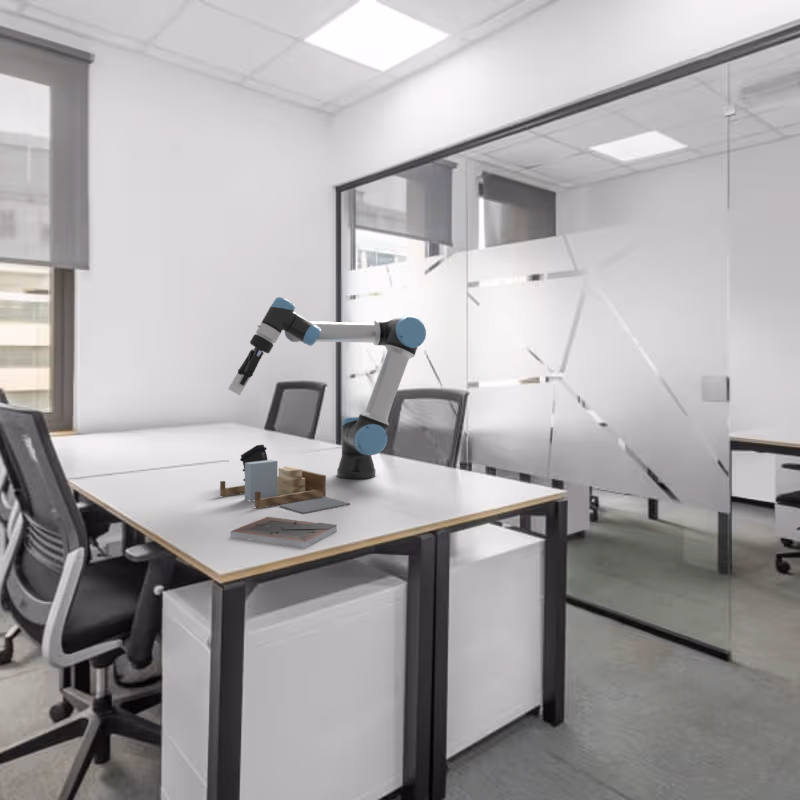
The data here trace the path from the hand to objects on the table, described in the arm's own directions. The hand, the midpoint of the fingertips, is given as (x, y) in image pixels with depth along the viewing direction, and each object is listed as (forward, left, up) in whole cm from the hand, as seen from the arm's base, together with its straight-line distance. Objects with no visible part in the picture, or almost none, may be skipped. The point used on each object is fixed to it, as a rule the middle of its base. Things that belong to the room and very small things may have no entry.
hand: (233, 392), depth 212 cm
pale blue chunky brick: (+1, +18, -34) cm, 38 cm away
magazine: (-8, +1, -34) cm, 35 cm away
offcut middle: (-10, +19, -31) cm, 38 cm away
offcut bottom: (-10, +18, -34) cm, 40 cm away
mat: (-6, +38, -34) cm, 51 cm away
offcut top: (-10, +19, -28) cm, 35 cm away
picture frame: (+19, +58, -35) cm, 70 cm away
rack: (-3, +18, -34) cm, 38 cm away
